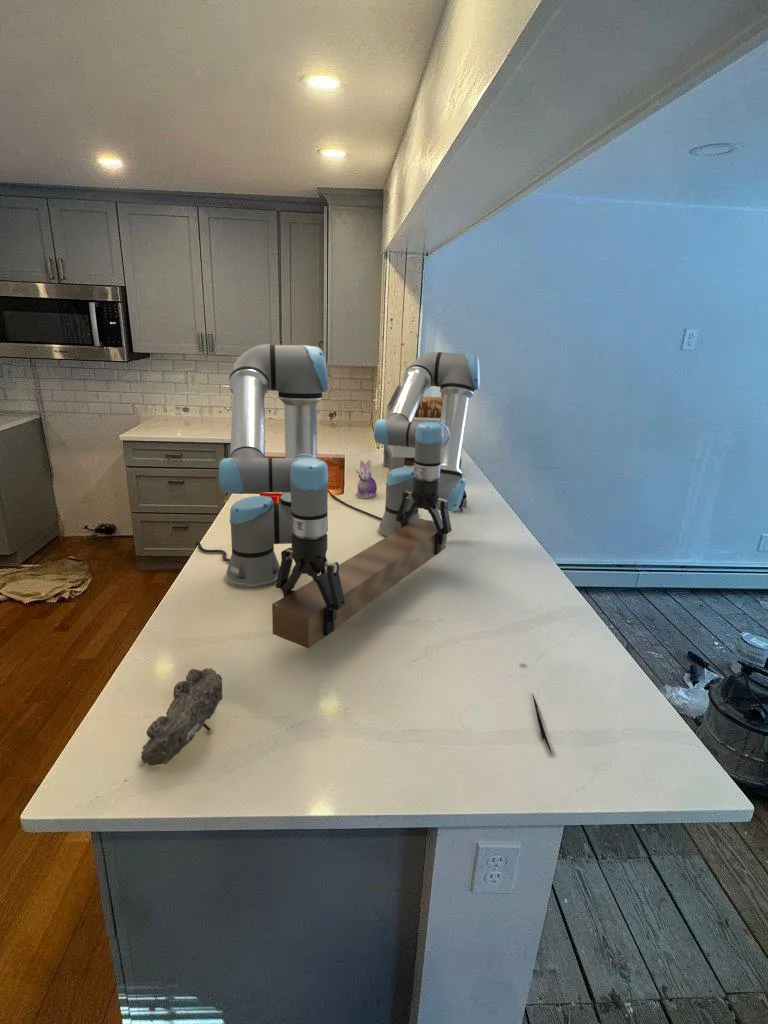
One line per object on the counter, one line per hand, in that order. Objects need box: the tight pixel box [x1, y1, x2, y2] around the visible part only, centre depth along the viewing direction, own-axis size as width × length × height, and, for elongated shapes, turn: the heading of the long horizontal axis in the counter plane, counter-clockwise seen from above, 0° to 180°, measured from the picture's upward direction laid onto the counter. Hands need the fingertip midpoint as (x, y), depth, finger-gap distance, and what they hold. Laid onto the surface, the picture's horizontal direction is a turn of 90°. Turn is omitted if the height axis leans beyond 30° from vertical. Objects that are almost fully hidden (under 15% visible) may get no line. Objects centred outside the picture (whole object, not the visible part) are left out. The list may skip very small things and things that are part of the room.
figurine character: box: [457, 489, 468, 512], centre depth 228 cm, size 7×8×15 cm
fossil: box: [140, 667, 224, 767], centre depth 103 cm, size 22×10×15 cm
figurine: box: [356, 459, 378, 499], centre depth 236 cm, size 9×10×15 cm
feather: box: [522, 663, 555, 753], centre depth 115 cm, size 2×28×2 cm
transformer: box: [383, 384, 464, 472], centre depth 268 cm, size 34×33×41 cm
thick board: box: [271, 517, 448, 650], centre depth 147 cm, size 66×10×7 cm, turn 149°
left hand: (309, 625), depth 126 cm, fingers closed on thick board, 10 cm apart
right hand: (421, 548), depth 169 cm, fingers closed on thick board, 10 cm apart
